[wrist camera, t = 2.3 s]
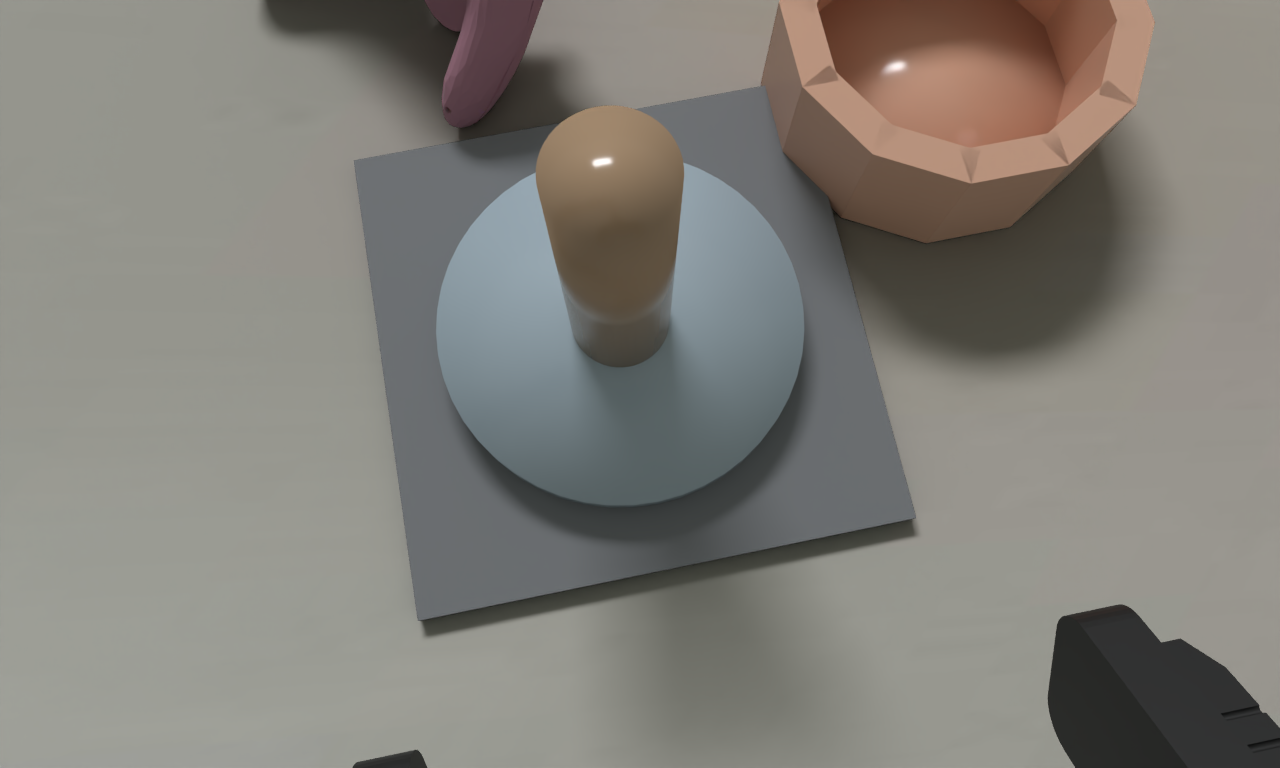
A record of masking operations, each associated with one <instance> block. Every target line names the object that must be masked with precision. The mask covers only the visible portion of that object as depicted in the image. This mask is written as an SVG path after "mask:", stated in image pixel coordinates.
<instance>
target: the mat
mask: <svg viewBox="0 0 1280 768" xmlns="http://www.w3.org/2000/svg"><path fill="white" fill-rule="evenodd" d="M635 110H638V111H641V112H643V113H645V114H647V115H649V116H651V117H652V118H654V119H655V120H657V121H658V122H659V123H661V124H662V125H663V126H664V127H665V128H666V129H667V130H668V131H669V133H670V134H671V135H672V136H673V138H674V140H675V141H676V143H677V145H678V147H679V149H680V152H681V155H682V158H683V163H686V164H688V165H691V166H694V167H697V168H699V169H701V170H703V171H705V172H707V173H709V174H711V175H712V176H714V177H716V178H718V179H720V180H721V181H723V182H724V183H726V184H727V185H729V186H730V187H731V188H733V189H734V190H736V191H737V192H738V193H740V194H741V195H742V196H743V197H744V198H745V199H746V200H747V201H749V202H750V203H751V204H752V205H753V206H754V207H755V208H756V209H757V210H758V211H759V213H760V214H761V215H762V216H763V217H764V218H765V219H766V221H767V222H768V223H769V224H770V226H771V227H772V229H773V230H774V232H775V233H776V235H777V236H778V238H779V239H780V241H781V242H782V244H783V246H784V248H785V250H786V252H787V254H788V256H789V258H790V260H791V262H792V265H793V268H794V271H795V274H796V277H797V280H798V283H799V287H800V292H801V297H802V303H803V311H804V341H803V353H802V357H801V362H800V366H799V371H798V375H797V378H796V381H795V383H794V386H793V389H792V391H791V394H790V396H789V399H788V401H787V402H786V404H785V406H784V408H783V410H782V412H781V413H780V415H779V417H778V419H777V420H776V422H775V423H774V425H773V426H772V427H771V429H770V430H769V431H768V433H767V434H766V436H765V437H764V438H763V440H762V441H761V442H760V444H759V445H758V446H757V447H756V448H755V449H754V450H753V451H752V452H751V453H750V454H749V455H748V456H747V457H746V458H745V459H744V460H743V461H742V462H741V463H740V464H739V465H737V466H736V467H735V468H734V469H732V470H731V471H730V472H728V473H727V474H726V475H725V476H723V477H722V478H720V479H718V480H716V481H715V482H713V483H711V484H710V485H708V486H706V487H705V488H703V489H700V490H698V491H696V492H693V493H691V494H689V495H686V496H684V497H682V498H678V499H675V500H671V501H667V502H664V503H660V504H656V505H648V506H641V507H634V508H607V507H599V506H591V505H584V504H580V503H577V502H573V501H569V500H565V499H561V498H559V497H557V496H554V495H552V494H549V493H547V492H544V491H542V490H539V489H538V488H536V487H534V486H532V485H531V484H529V483H527V482H526V481H524V480H522V479H520V478H519V477H517V476H516V475H515V474H513V473H512V472H511V471H510V470H508V469H507V468H506V467H504V466H503V465H502V464H500V463H499V462H498V461H497V460H496V459H495V458H494V457H493V456H492V455H491V454H490V452H489V451H488V450H487V449H486V448H485V447H484V446H483V445H482V444H481V443H480V442H479V441H478V440H477V439H476V437H475V436H474V435H473V433H472V432H471V431H470V429H469V428H468V427H467V425H466V424H465V423H464V421H463V420H462V418H461V416H460V414H459V412H458V411H457V409H456V407H455V405H454V403H453V401H452V399H451V397H450V394H449V392H448V389H447V386H446V384H445V381H444V379H443V375H442V370H441V366H440V362H439V357H438V349H437V338H436V322H437V307H438V302H439V297H440V291H441V286H442V283H443V280H444V277H445V274H446V271H447V268H448V265H449V263H450V261H451V259H452V257H453V255H454V253H455V251H456V249H457V247H458V245H459V243H460V241H461V240H462V238H463V237H464V235H465V234H466V232H467V231H468V229H469V228H470V226H471V225H472V224H473V223H474V221H475V220H476V219H477V218H478V217H479V216H480V215H481V213H482V212H483V211H484V210H485V209H486V208H487V207H488V206H489V205H490V204H491V203H492V202H493V201H494V200H496V199H497V198H498V197H499V196H500V195H501V194H502V193H503V192H505V191H506V190H508V189H509V188H511V187H512V186H514V185H515V184H516V183H518V182H519V181H521V180H522V179H524V178H526V177H528V176H530V175H532V174H534V173H536V164H537V159H538V156H539V153H540V150H541V148H542V146H543V144H544V142H545V140H546V139H547V137H548V136H549V134H550V133H551V132H552V131H553V130H554V129H555V128H556V127H557V126H558V125H559V124H560V123H557V124H551V125H546V126H540V127H535V128H529V129H524V130H518V131H513V132H507V133H502V134H496V135H491V136H485V137H480V138H474V139H469V140H463V141H458V142H452V143H447V144H441V145H436V146H430V147H425V148H419V149H414V150H408V151H403V152H397V153H392V154H386V155H381V156H375V157H370V158H364V159H359V160H354V165H355V173H356V180H357V187H358V194H359V201H360V209H361V216H362V223H363V230H364V237H365V244H366V252H367V259H368V266H369V273H370V280H371V288H372V295H373V302H374V309H375V316H376V324H377V331H378V338H379V345H380V352H381V359H382V367H383V374H384V381H385V388H386V395H387V403H388V410H389V417H390V424H391V431H392V439H393V446H394V453H395V460H396V467H397V474H398V482H399V489H400V496H401V503H402V510H403V518H404V525H405V532H406V539H407V546H408V554H409V561H410V568H411V575H412V582H413V589H414V597H415V604H416V611H417V618H418V621H422V620H427V619H432V618H437V617H441V616H446V615H451V614H456V613H461V612H466V611H470V610H475V609H480V608H485V607H490V606H495V605H499V604H504V603H509V602H514V601H519V600H524V599H529V598H533V597H538V596H543V595H548V594H553V593H558V592H562V591H567V590H572V589H577V588H582V587H587V586H591V585H596V584H601V583H606V582H611V581H616V580H621V579H625V578H630V577H635V576H640V575H645V574H650V573H654V572H659V571H664V570H669V569H674V568H679V567H683V566H688V565H693V564H698V563H703V562H708V561H713V560H717V559H722V558H727V557H732V556H737V555H742V554H746V553H751V552H756V551H761V550H766V549H771V548H775V547H780V546H785V545H790V544H795V543H800V542H805V541H809V540H814V539H819V538H824V537H829V536H834V535H838V534H843V533H848V532H853V531H858V530H863V529H867V528H872V527H877V526H882V525H887V524H892V523H896V522H901V521H906V520H911V519H914V518H916V515H915V512H914V508H913V504H912V501H911V497H910V493H909V490H908V486H907V482H906V479H905V475H904V472H903V468H902V464H901V461H900V457H899V453H898V450H897V446H896V442H895V439H894V435H893V431H892V428H891V424H890V420H889V417H888V413H887V409H886V406H885V402H884V399H883V395H882V391H881V388H880V384H879V380H878V377H877V373H876V369H875V366H874V362H873V358H872V355H871V351H870V347H869V344H868V340H867V337H866V333H865V329H864V326H863V322H862V318H861V315H860V311H859V307H858V304H857V300H856V296H855V293H854V289H853V285H852V282H851V278H850V275H849V271H848V267H847V264H846V260H845V256H844V253H843V249H842V245H841V242H840V238H839V234H838V231H837V227H836V223H835V220H834V216H833V213H832V209H831V205H830V202H829V198H828V196H827V195H826V194H825V193H824V192H823V191H822V190H821V189H820V188H819V187H818V186H817V185H816V184H815V183H814V182H813V181H812V180H811V179H810V178H809V177H808V176H807V175H806V174H805V173H804V172H803V171H802V170H801V169H800V168H799V167H798V166H797V165H796V164H795V163H794V162H793V161H792V160H791V159H790V158H789V157H788V156H787V155H786V154H785V153H784V152H782V147H781V143H780V140H779V136H778V132H777V128H776V124H775V121H774V117H773V113H772V109H771V106H770V102H769V98H768V94H767V90H766V87H765V86H760V87H754V88H749V89H743V90H738V91H732V92H727V93H721V94H716V95H710V96H705V97H699V98H694V99H688V100H683V101H677V102H672V103H666V104H661V105H655V106H650V107H644V108H639V109H635Z"/></svg>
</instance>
